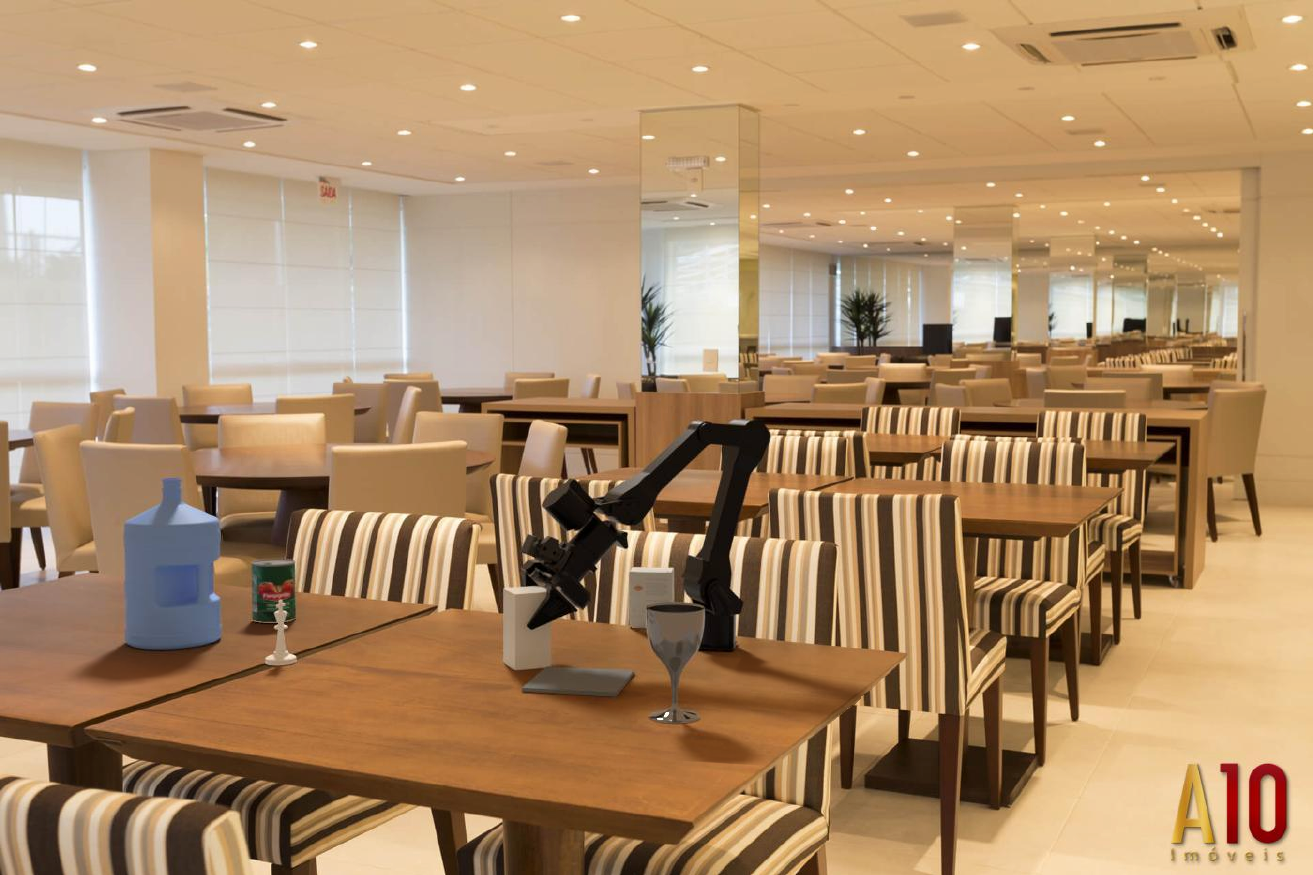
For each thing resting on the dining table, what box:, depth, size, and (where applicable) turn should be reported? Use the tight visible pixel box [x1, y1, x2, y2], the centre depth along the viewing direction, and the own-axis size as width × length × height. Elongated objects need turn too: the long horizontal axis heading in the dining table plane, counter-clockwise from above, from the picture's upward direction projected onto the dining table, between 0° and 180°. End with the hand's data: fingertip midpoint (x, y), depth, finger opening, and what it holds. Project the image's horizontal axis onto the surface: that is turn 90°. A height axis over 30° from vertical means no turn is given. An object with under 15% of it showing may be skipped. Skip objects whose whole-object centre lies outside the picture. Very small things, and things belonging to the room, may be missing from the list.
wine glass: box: [646, 601, 705, 725], centre depth 176 cm, size 8×8×15 cm
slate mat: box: [521, 665, 635, 698], centre depth 195 cm, size 14×14×1 cm
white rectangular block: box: [502, 586, 552, 671], centre depth 207 cm, size 6×6×12 cm
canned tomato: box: [250, 558, 297, 622], centre depth 242 cm, size 8×8×11 cm
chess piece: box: [264, 600, 298, 666], centre depth 208 cm, size 5×5×10 cm
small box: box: [628, 566, 675, 629], centre depth 239 cm, size 8×6×10 cm
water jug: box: [122, 477, 223, 651], centre depth 222 cm, size 16×16×28 cm
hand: (519, 622), depth 206 cm, fingers open, 9 cm apart
